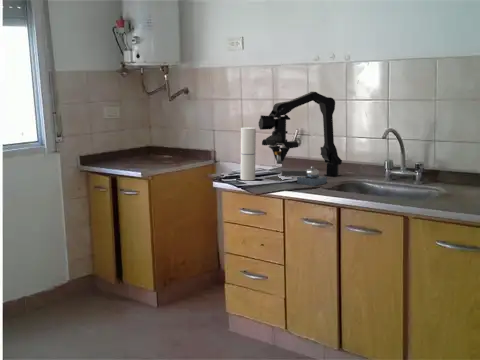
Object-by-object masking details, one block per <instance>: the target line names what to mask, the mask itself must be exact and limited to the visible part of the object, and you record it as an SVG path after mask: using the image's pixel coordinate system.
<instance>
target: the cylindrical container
mask: <svg viewBox="0 0 480 360" xmlns="http://www.w3.org/2000/svg"><path fill="white" fill-rule="evenodd" d="M256 129H257V128H256V127H251V126H250V127H248V126H247V127H240V180H241V181H254V180H256V148H257V145H256V142H257V141H256V139H257V138H256V135H257V132H256V131H257V130H256Z"/></svg>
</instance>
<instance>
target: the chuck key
mask: <svg viewBox="0 0 480 360" xmlns="http://www.w3.org/2000/svg"><path fill="white" fill-rule="evenodd" d="M275 155H277V161H276V164H277V165H283V162H284V161H281V150H280V151H277V152H275Z"/></svg>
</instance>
